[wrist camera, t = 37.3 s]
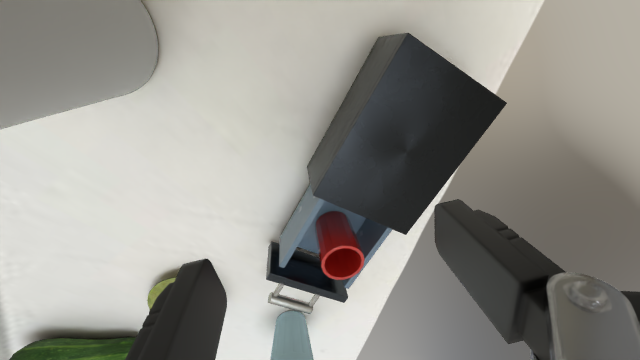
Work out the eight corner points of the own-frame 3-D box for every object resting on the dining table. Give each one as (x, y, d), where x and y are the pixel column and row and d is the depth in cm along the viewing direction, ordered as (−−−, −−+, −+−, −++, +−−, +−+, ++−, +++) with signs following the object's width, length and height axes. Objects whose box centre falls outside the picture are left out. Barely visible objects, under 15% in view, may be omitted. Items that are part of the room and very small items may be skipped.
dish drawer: (320, 292, 48) (325, 328, 42) (253, 272, 44) (249, 308, 38) (394, 186, 41) (413, 210, 35) (322, 151, 37) (329, 171, 31)
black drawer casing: (383, 201, 43) (406, 235, 35) (306, 166, 39) (312, 195, 31) (460, 92, 37) (507, 103, 29) (378, 36, 33) (408, 32, 25)
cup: (267, 333, 52) (264, 395, 43) (273, 305, 49) (271, 364, 40) (306, 334, 54) (311, 394, 45) (314, 307, 51) (321, 364, 42)
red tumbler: (308, 233, 41) (313, 272, 34) (325, 205, 39) (335, 240, 32) (338, 245, 43) (350, 284, 36) (356, 218, 41) (372, 254, 34)
